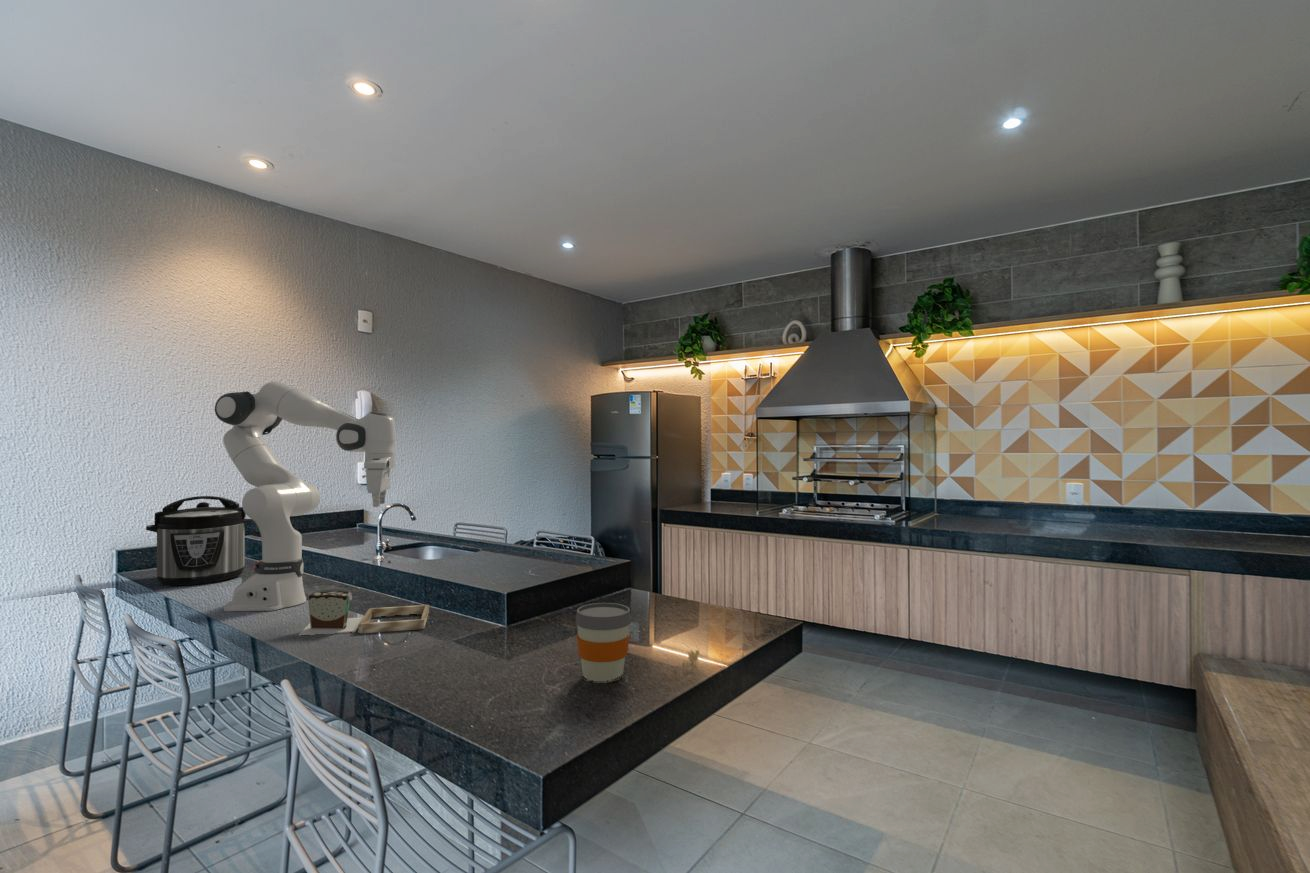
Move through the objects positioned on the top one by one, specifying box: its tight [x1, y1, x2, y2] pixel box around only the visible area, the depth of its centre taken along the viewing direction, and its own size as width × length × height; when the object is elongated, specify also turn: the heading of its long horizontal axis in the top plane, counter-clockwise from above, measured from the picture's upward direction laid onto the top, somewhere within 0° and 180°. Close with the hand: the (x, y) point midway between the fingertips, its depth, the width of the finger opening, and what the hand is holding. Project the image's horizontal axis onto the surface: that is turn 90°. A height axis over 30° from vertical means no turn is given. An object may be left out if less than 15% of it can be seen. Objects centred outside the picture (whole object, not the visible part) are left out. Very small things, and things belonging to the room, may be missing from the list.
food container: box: [306, 588, 353, 629], centre depth 172 cm, size 12×6×10 cm, turn 89°
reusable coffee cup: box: [575, 602, 632, 681], centre depth 137 cm, size 13×12×15 cm
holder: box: [357, 604, 430, 634], centre depth 177 cm, size 17×17×2 cm
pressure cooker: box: [145, 495, 255, 586], centre depth 231 cm, size 30×28×32 cm
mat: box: [298, 616, 364, 637], centre depth 172 cm, size 14×14×1 cm
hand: (379, 505), depth 195 cm, fingers open, 8 cm apart
